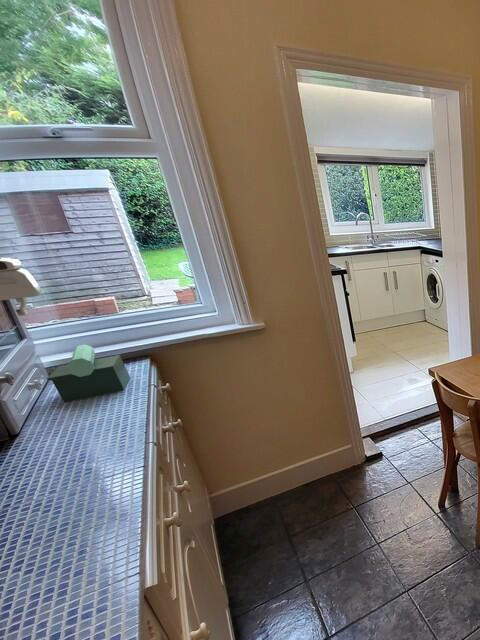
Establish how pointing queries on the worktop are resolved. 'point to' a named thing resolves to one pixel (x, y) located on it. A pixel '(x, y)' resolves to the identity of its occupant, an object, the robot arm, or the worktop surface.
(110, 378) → the case
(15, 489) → the worktop surface
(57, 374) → the case lid
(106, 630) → the worktop surface
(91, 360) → the light green cylinder
